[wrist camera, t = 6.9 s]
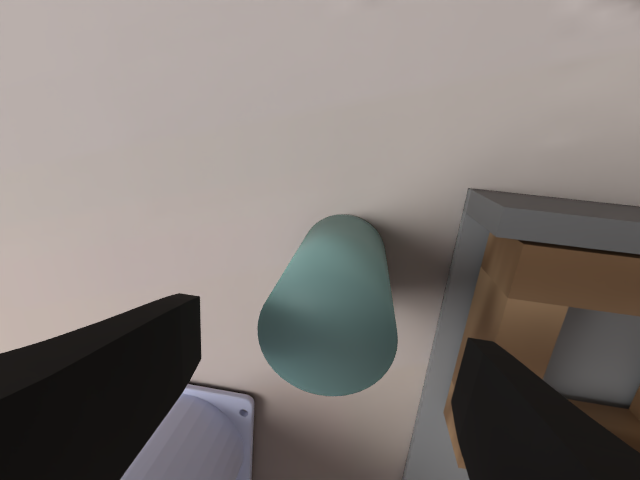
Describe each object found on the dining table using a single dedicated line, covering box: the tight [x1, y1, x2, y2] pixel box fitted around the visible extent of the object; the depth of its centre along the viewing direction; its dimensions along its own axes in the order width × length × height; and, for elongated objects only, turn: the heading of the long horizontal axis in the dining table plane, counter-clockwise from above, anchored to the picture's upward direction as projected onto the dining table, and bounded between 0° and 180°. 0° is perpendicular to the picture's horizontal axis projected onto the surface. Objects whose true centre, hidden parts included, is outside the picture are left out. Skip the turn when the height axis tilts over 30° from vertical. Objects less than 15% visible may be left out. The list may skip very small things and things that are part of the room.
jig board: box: [402, 188, 640, 480], centre depth 15 cm, size 20×12×4 cm, turn 174°
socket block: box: [443, 233, 640, 469], centre depth 14 cm, size 10×10×3 cm
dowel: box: [258, 215, 398, 396], centre depth 13 cm, size 4×4×7 cm
